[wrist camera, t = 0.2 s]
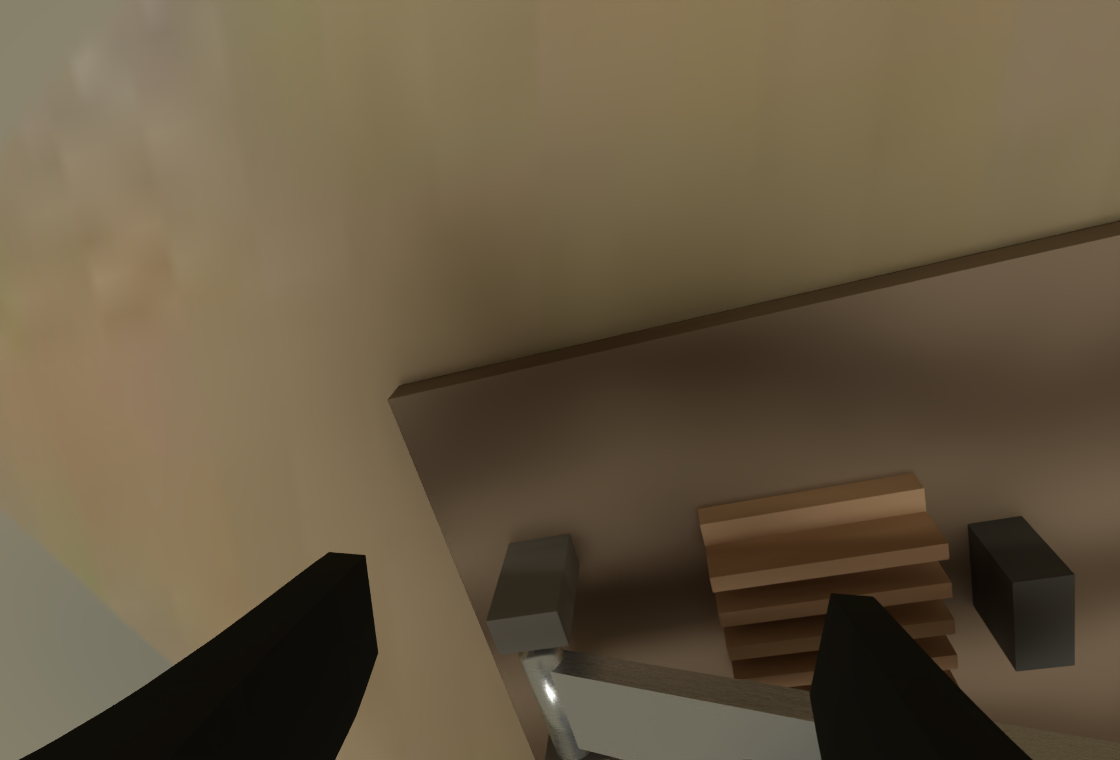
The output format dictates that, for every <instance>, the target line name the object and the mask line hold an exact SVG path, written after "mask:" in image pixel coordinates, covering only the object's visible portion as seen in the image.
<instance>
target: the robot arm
mask: <svg viewBox="0 0 1120 760" xmlns="http://www.w3.org/2000/svg"><path fill="white" fill-rule="evenodd" d="M377 655H378V648H377V640H376V633H375V625H374V617H373V610H372V602H371V594H370V587H369V579H368V572H367V564H366V556H365V555H357V554H345V553H333V552H329V553H327V554H326V555H324V556H323V557H322V558H320V559H319V560H317V561H316V562H315V563H313V564H312V565H311V566H309V567H308V568H307V569H305V570H304V571H303V572H301V573H300V574H299V575H297V576H296V577H295V578H293V579H292V580H291V581H289V582H288V583H287V584H285V585H284V586H283V587H282V588H280V589H279V590H278V591H276V592H275V593H274V594H272V595H271V596H270V597H268V598H267V599H266V600H264V601H263V602H262V603H260V604H259V605H258V606H256V607H255V608H254V609H252V610H251V611H250V612H248V613H247V614H246V615H244V616H243V617H242V618H240V619H239V620H238V621H236V622H235V623H234V624H232V625H231V626H230V627H228V628H227V629H225V630H224V631H223V632H221V633H220V634H219V635H217V636H216V637H215V638H213V639H212V640H210V641H209V642H207V643H206V644H205V645H203V646H202V647H200V648H199V649H197V650H196V651H194V652H193V653H191V654H190V655H189V656H187V657H186V658H184V659H183V660H181V661H180V662H178V663H177V664H175V665H174V666H173V667H171V668H170V669H168V670H167V671H165V672H164V673H162V674H161V675H159V676H158V677H157V678H155V679H154V680H152V681H151V682H149V683H148V684H146V685H145V686H143V687H142V688H140V689H139V690H137V691H135V692H134V693H132V694H131V695H129V696H128V697H126V698H125V699H123V700H121V701H120V702H118V703H117V704H115V705H113V706H112V707H110V708H108V709H107V710H105V711H104V712H102V713H100V714H99V715H97V716H95V717H94V718H92V719H90V720H88V721H87V722H85V723H84V724H82V725H80V726H78V727H77V728H75V729H73V730H72V731H70V732H68V733H67V734H65V735H63V736H62V737H60V738H58V739H56V740H55V741H53V742H51V743H49V744H47V745H46V746H44V747H42V748H40V749H38V750H37V751H35V752H33V753H31V754H29V755H27V756H25V757H23V758H21V759H20V760H335V759H336V757H337V755H338V753H339V751H340V749H341V746H342V744H343V742H344V740H345V738H346V736H347V734H348V732H349V730H350V728H351V726H352V723H353V721H354V719H355V717H356V715H357V712H358V709H359V707H360V704H361V701H362V698H363V696H364V693H365V690H366V687H367V684H368V681H369V678H370V675H371V672H372V670H373V667H374V664H375V661H376V658H377ZM809 695H810V701H811V707H812V712H813V718H814V724H815V729H816V735H817V740H818V745H819V750H820V755H821V760H1033V759H1031V758H1030V757H1029V756H1028V755H1027V754H1026V753H1025V752H1024V751H1023V750H1022V749H1021V748H1020V747H1019V746H1018V745H1017V744H1016V743H1014V742H1013V741H1012V740H1011V739H1010V738H1009V737H1008V736H1007V735H1006V734H1005V733H1004V732H1003V731H1002V730H1001V729H1000V728H999V727H998V726H997V725H996V724H995V723H994V722H993V721H992V720H991V719H990V718H989V717H988V716H987V715H986V714H985V713H984V712H983V711H982V710H981V709H980V708H979V707H978V706H977V705H976V704H975V703H974V702H973V701H972V700H971V699H970V698H969V697H968V696H967V695H966V694H965V693H964V692H963V691H962V690H961V689H960V688H959V687H958V686H957V685H956V684H955V683H954V681H953V680H952V679H951V678H950V677H949V676H948V675H947V674H946V673H945V672H944V671H943V670H942V669H941V668H940V667H939V666H938V665H937V664H936V663H935V662H934V660H933V659H932V658H931V657H930V656H929V655H928V654H927V653H926V652H925V651H924V650H923V649H922V648H921V647H920V646H919V645H918V643H917V642H916V641H915V640H914V639H913V638H912V637H911V636H910V635H909V634H908V633H907V632H906V631H905V629H904V628H903V627H902V626H901V625H900V624H899V623H898V622H897V621H896V620H895V619H894V618H893V617H892V615H891V614H890V613H889V612H888V611H887V610H886V609H885V608H884V607H883V606H882V605H881V604H880V603H879V602H878V601H877V600H876V599H875V598H874V597H873V596H861V595H849V594H836V593H831V594H830V599H829V604H828V608H827V613H826V618H825V623H824V627H823V632H822V637H821V642H820V646H819V651H818V656H817V661H816V665H815V670H814V675H813V680H812V684H811V689H810V694H809Z"/></svg>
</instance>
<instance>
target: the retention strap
mask: <svg viewBox="0 0 1120 760" xmlns="http://www.w3.org/2000/svg"><path fill="white" fill-rule="evenodd" d="M519 658H520V660H521V663H522V665H523V668H524V670H525V673H526V676H527V678H528V681H529V683H530V686H531V688H532V691H533V693H534V696H535V698H536V701H537V704H538V706H539V709H540V711H541V714H542V716H543V719H544V721H545V724H546V726H547V729H548V732H549V734H550V737H551V739H552V742H553V744H554V747H555V749H556V752H557V754H558V756H559V757H560V758H562V759H563V760H580V759H582V758H583V757H585V756H586V755H587V754H588V753H589V752H590V751H591V752H595V753H599V754H603V755H607V756H611V757H615V758H619V759H623V760H821V755H820V750H819V745H818V740H817V735H816V729H815V724H814V718H813V712H812V707H811V701H810V695H809V694H810V691H807V690H801V689H795V688H789V687H783V686H777V685H771V684H765V683H759V682H753V681H747V680H741V679H735V678H729V677H723V676H717V675H711V674H705V673H699V672H693V671H687V670H681V669H675V668H669V667H663V666H657V665H652V664H646V663H640V662H634V661H628V660H622V659H616V658H610V657H604V656H598V655H592V654H586V653H580V652H574V651H568V650H563V649H562V647H555V648H547V649H540V650H532V651H525V652H519ZM994 723H995V724H996V725H997V726H998V727H999V728H1000V729H1001V730H1002V731H1003V732H1004V733H1005V734H1006V735H1007V736H1008V737H1009V738H1010V739H1011V740H1012V741H1013V742H1014V743H1016V744H1017V745H1018V746H1019V747H1020V748H1021V749H1022V750H1023V751H1024V752H1025V753H1026V754H1027V755H1028V756H1029V757H1030V758H1031V759H1033V760H1120V743H1117V742H1111V741H1105V740H1099V739H1093V738H1087V737H1081V736H1075V735H1069V734H1063V733H1057V732H1051V731H1045V730H1039V729H1033V728H1027V727H1021V726H1015V725H1009V724H1003V723H997V722H994Z"/></svg>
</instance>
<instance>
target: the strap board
mask: <svg viewBox="0 0 1120 760" xmlns="http://www.w3.org/2000/svg"><path fill="white" fill-rule="evenodd" d="M388 402H389V404H390V406H391V409H392V411H393V414H394V416H395V419H396V421H397V424H398V426H399V428H400V431H401V433H402V436H403V438H404V441H405V443H406V445H407V448H408V450H409V453H410V455H411V458H412V460H413V462H414V465H415V467H416V470H417V472H418V475H419V477H420V480H421V482H422V484H423V487H424V489H425V492H426V494H427V497H428V499H429V501H430V504H431V506H432V509H433V511H434V514H435V516H436V518H437V521H438V523H439V526H440V528H441V531H442V533H443V536H444V538H445V540H446V543H447V545H448V548H449V550H450V553H451V555H452V557H453V560H454V562H455V565H456V567H457V570H458V572H459V574H460V577H461V579H462V582H463V584H464V587H465V589H466V592H467V594H468V596H469V599H470V601H471V604H472V606H473V609H474V611H475V613H476V616H477V618H478V621H479V623H480V626H481V628H482V630H483V633H484V635H485V638H486V640H487V643H488V645H489V648H490V650H491V652H492V655H493V657H494V660H495V662H496V665H497V667H498V669H499V672H500V674H501V677H502V679H503V682H504V684H505V686H506V689H507V691H508V694H509V696H510V699H511V701H512V704H513V706H514V708H515V711H516V713H517V716H518V718H519V721H520V723H521V725H522V728H523V730H524V733H525V735H526V738H527V740H528V742H529V745H530V747H531V750H532V752H533V755H534V757H535V760H563V759H562V758H560V757H559V756H558V754H557V752H556V749H555V747H554V744H553V742H552V739H551V737H550V734H549V732H548V729H547V726H546V724H545V721H544V719H543V716H542V714H541V711H540V709H539V706H538V704H537V701H536V698H535V696H534V693H533V691H532V688H531V686H530V683H529V681H528V678H527V676H526V673H525V670H524V668H523V665H522V663H521V660H520V658H519V652H525V651H532V650H540V649H547V648H555V647H562V649H563V650H568V651H574V652H580V653H586V654H592V655H598V656H604V657H610V658H616V659H622V660H628V661H634V662H640V663H646V664H652V665H657V666H663V667H669V668H675V669H681V670H687V671H693V672H699V673H705V674H711V675H717V676H723V677H729V678H735V679H741V680H747V681H753V682H759V683H765V684H771V685H777V686H783V687H789V688H795V689H801V690H807V691H810V689H811V684H812V680H813V675H814V670H815V665H816V661H817V656H818V651H819V646H820V642H821V637H822V632H823V627H824V623H825V618H826V613H827V608H828V604H829V599H830V594H831V593H836V594H849V595H861V596H873V597H874V598H875V599H876V600H877V601H878V602H879V603H880V604H881V605H882V606H883V607H884V608H885V609H886V610H887V611H888V612H889V613H890V614H891V615H892V617H893V618H894V619H895V620H896V621H897V622H898V623H899V624H900V625H901V626H902V627H903V628H904V629H905V631H906V632H907V633H908V634H909V635H910V636H911V637H912V638H913V639H914V640H915V641H916V642H917V643H918V645H919V646H920V647H921V648H922V649H923V650H924V651H925V652H926V653H927V654H928V655H929V656H930V657H931V658H932V659H933V660H934V662H935V663H936V664H937V665H938V666H939V667H940V668H941V669H942V670H943V671H944V672H945V673H946V674H947V675H948V676H949V677H950V678H951V679H952V680H953V681H954V683H955V684H956V685H957V686H958V687H959V688H960V689H961V690H962V691H963V692H964V693H965V694H966V695H967V696H968V697H969V698H970V699H971V700H972V701H973V702H974V703H975V704H976V705H977V706H978V707H979V708H980V709H981V710H982V711H983V712H984V713H985V714H986V715H987V716H988V717H989V718H990V719H991V720H992V721H993V722H997V723H1003V724H1009V725H1015V726H1021V727H1027V728H1033V729H1039V730H1045V731H1051V732H1057V733H1063V734H1069V735H1075V736H1081V737H1087V738H1093V739H1099V740H1105V741H1111V742H1117V743H1120V221H1118V222H1114V223H1110V224H1105V225H1101V226H1097V227H1092V228H1088V229H1084V230H1079V231H1075V232H1070V233H1066V234H1062V235H1057V236H1053V237H1049V238H1044V239H1040V240H1035V241H1031V242H1027V243H1022V244H1018V245H1014V246H1009V247H1005V248H1000V249H996V250H992V251H987V252H983V253H979V254H974V255H970V256H965V257H961V258H957V259H952V260H948V261H944V262H939V263H935V264H930V265H926V266H922V267H917V268H913V269H909V270H904V271H900V272H895V273H891V274H887V275H882V276H878V277H874V278H869V279H865V280H860V281H856V282H852V283H847V284H843V285H839V286H834V287H830V288H826V289H821V290H817V291H812V292H808V293H804V294H799V295H795V296H791V297H786V298H782V299H777V300H773V301H769V302H764V303H760V304H756V305H751V306H747V307H742V308H738V309H734V310H729V311H725V312H721V313H716V314H712V315H707V316H703V317H699V318H694V319H690V320H686V321H681V322H677V323H672V324H668V325H664V326H659V327H655V328H651V329H646V330H642V331H637V332H633V333H629V334H624V335H620V336H616V337H611V338H607V339H602V340H598V341H594V342H589V343H585V344H581V345H576V346H572V347H568V348H563V349H559V350H554V351H550V352H546V353H541V354H537V355H533V356H528V357H524V358H519V359H515V360H511V361H506V362H502V363H498V364H493V365H489V366H484V367H480V368H476V369H471V370H467V371H463V372H458V373H454V374H449V375H445V376H441V377H436V378H432V379H428V380H423V381H419V382H414V383H410V384H406V385H401V386H399V387H398V388H397V389H396V390H395V392H394V393H393V394H392V395H391V396H390V398H389V399H388ZM580 760H623V759H619V758H615V757H611V756H607V755H603V754H599V753H595V752H591V751H590V752H589V753H588V754H587V755H586V756H585V757H583V758H582V759H580Z"/></svg>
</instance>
